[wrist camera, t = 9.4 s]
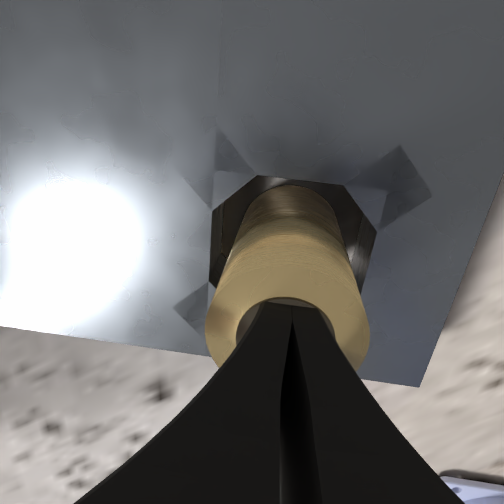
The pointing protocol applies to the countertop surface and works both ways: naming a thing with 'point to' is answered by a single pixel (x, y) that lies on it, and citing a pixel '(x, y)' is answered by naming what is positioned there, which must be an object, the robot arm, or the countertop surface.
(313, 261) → the slip bushing
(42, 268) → the plate
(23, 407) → the countertop surface
